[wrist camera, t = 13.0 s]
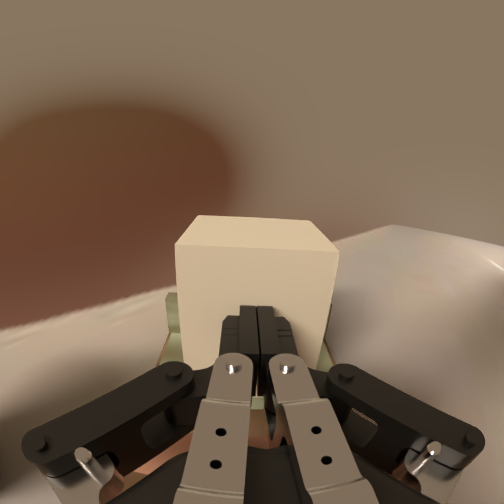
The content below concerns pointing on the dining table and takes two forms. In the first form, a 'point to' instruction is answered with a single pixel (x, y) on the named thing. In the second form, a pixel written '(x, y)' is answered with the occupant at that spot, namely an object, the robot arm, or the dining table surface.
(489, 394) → the dining table surface
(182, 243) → the block
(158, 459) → the track
